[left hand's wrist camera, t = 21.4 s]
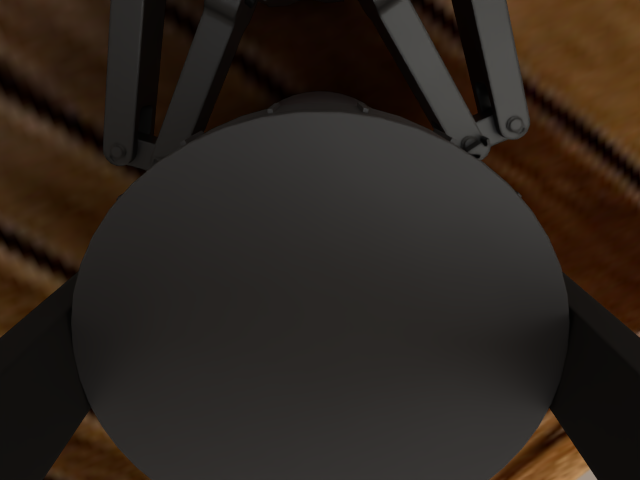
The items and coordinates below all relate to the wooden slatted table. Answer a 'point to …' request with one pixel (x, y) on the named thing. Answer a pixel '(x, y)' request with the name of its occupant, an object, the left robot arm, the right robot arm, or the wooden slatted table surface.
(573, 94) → the wooden slatted table surface
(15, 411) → the left robot arm
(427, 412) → the lid
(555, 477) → the wooden slatted table surface
